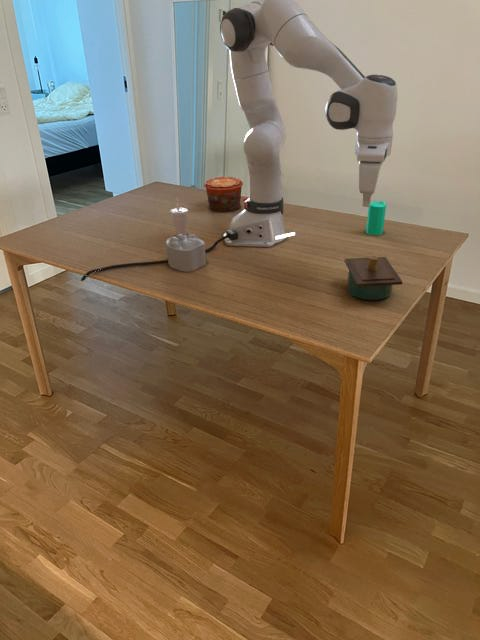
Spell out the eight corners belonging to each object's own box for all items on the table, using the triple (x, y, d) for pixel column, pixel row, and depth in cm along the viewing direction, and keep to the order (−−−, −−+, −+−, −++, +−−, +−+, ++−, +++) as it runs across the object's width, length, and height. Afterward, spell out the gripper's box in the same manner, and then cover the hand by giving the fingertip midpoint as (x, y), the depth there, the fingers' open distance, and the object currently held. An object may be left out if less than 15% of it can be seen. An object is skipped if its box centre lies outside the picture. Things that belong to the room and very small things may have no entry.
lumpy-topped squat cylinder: (186, 273, 154) (184, 247, 150) (160, 262, 162) (156, 238, 157) (210, 262, 161) (208, 237, 156) (183, 252, 168) (181, 228, 164)
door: (356, 286, 130) (358, 271, 128) (344, 261, 144) (345, 247, 141) (402, 284, 130) (404, 269, 128) (385, 259, 144) (386, 245, 142)
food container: (213, 216, 198) (212, 189, 193) (200, 204, 211) (198, 179, 205) (249, 209, 204) (249, 183, 198) (234, 198, 216) (233, 174, 211)
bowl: (352, 302, 135) (354, 283, 132) (343, 282, 145) (344, 264, 142) (396, 300, 135) (399, 281, 132) (384, 280, 145) (386, 262, 142)
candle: (381, 229, 180) (385, 196, 174) (384, 235, 175) (388, 202, 169) (364, 229, 180) (368, 196, 174) (366, 235, 175) (370, 202, 169)
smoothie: (169, 237, 180) (165, 200, 173) (178, 231, 185) (174, 194, 178) (185, 239, 178) (181, 201, 171) (193, 233, 183) (189, 196, 176)
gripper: (364, 137, 134) (359, 188, 141) (356, 155, 117) (351, 211, 125) (388, 138, 132) (382, 189, 140) (384, 156, 116) (377, 213, 123)
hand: (367, 200), depth 132 cm, fingers open, 8 cm apart
